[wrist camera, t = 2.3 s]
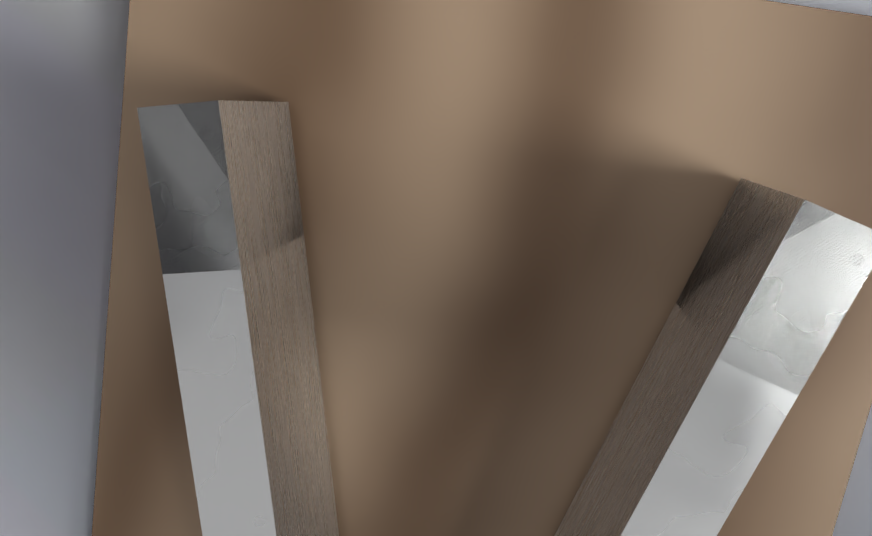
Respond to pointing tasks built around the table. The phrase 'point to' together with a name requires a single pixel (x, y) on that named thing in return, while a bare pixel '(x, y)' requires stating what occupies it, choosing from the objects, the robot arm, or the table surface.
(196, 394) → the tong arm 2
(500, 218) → the board
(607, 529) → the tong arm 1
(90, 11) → the table surface
